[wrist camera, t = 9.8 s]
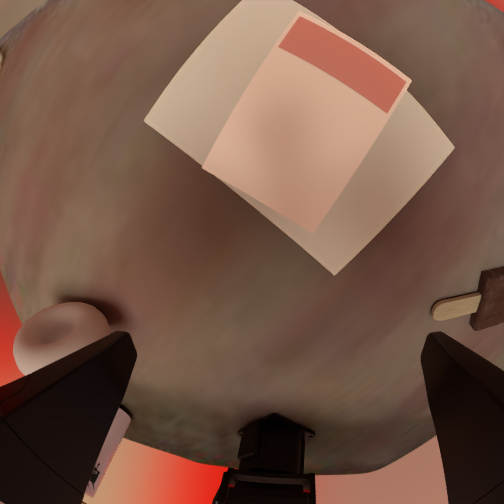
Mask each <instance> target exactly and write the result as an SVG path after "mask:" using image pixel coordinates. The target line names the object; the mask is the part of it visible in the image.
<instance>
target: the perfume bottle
mask: <svg viewBox="0 0 504 504" xmlns="http://www.w3.org/2000/svg"><path fill="white" fill-rule="evenodd" d="M130 423H131V418H130V417H129V415H128V414H127V413H126V412H124V411H123V410H122V409H120V408H119V409H118V411H117V414H116V416H115V418H114V421H113V423H112V425H111V428H110V430H109V432H108V435H107V437H106V440H105V442H104V444H103V447H102V449H101V452H100V454H99V457H98V459H97V462H96V465H95V467H94V470H93V472H92V475H91V478H90V480H89V483H88V486H87V488H86V491H85V494H86V495H88V496H90V497H94V495H95V493H96V491H97V489H98V487H99V485H100V483H101V480H102V479H103V477H104V475H105V472H106V470H107V468H108V466H109V464H110V462H111V460H112V458H113V456H114V454H115V452H116V450H117V448H118V446H119V444H120V442H121V440H122V438H123V436H124V434H125V432H126V430H127V428H128V426H129V425H130ZM81 504H86V503H84V502H83V501H82V503H81Z"/></svg>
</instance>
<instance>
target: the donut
mask: <svg viewBox="0 0 504 504" xmlns="http://www.w3.org/2000/svg"><path fill="white" fill-rule="evenodd" d="M109 334H111V332H110V327H109V325H108V322H107V319H106V318H105V316H104V314H102V313H101V312H100V311H99V310H98V309H96V308H95V307H94V306H92V305H89V304H86V303H82V302H67V303H61V304H56V305H53V306H50V307H47V308H45V309H44V310H42V311H40V312H38V313H36V314H35V315H34V316H32V317H31V318H29V319H28V320H27V321H26V322H25V323H24V324H23V326H22V327H21V328H20V329H19V331H18V333H17V335H16V337H15V340H14V347H13V355H14V358H15V360H16V363H17V366H18V368H19V370H20V371H21V372H22V373H23V374H24V375H25V376H26V375H28V374H30V373H32V372H34V371H36V370H38V369H40V368H42V367H44V366H46V365H48V364H50V363H53V362H55V361H57V360H59V359H61V358H63V357H65V356H67V355H69V354H71V353H73V352H75V351H77V350H79V349H81V348H83V347H85V346H87V345H89V344H91V343H93V342H95V341H97V340H99V339H101V338H103V337H105V336H107V335H109Z"/></svg>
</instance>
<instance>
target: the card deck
mask: <svg viewBox="0 0 504 504" xmlns="http://www.w3.org/2000/svg"><path fill="white" fill-rule="evenodd" d="M411 81H412V80H411V79H409V78H408V77H407V76H406V75H404V74H403V73H402V72H400V71H399V70H398V69H397V68H395V67H394V66H392V65H391V64H390V63H388V62H387V61H386V60H384V59H383V58H381V57H380V56H378V55H377V54H376V53H374V52H373V51H371V50H370V49H368V48H366V47H365V46H363V45H362V44H360V43H359V42H357V41H355V40H354V39H352V38H350V37H349V36H347V35H345V34H344V33H342V32H340V31H338V30H337V29H335V28H333V27H331V26H329V25H327V24H325V23H323V22H322V21H320V20H318V19H316V18H314V17H312V16H309V15H307V14H305V13H303V12H301V11H298V13H297V14H296V15H295V17H294V18H293V19H292V21H291V22H290V23H289V25H288V26H287V28H286V29H285V30H284V32H283V33H282V35H281V36H280V38H279V39H278V40H277V42H276V43H275V45H274V46H273V48H272V49H271V51H270V52H269V54H268V55H267V57H266V58H265V60H264V61H263V63H262V64H261V66H260V67H259V69H258V70H257V72H256V74H255V75H254V77H253V78H252V80H251V82H250V83H249V85H248V86H247V88H246V90H245V91H244V93H243V95H242V96H241V98H240V100H239V101H238V103H237V105H236V106H235V108H234V110H233V111H232V113H231V115H230V117H229V118H228V120H227V122H226V124H225V125H224V127H223V129H222V131H221V132H220V134H219V136H218V138H217V140H216V141H215V143H214V145H213V147H212V149H211V151H210V153H209V154H208V156H207V158H206V160H205V162H204V164H203V166H202V169H204V170H206V171H208V172H209V173H211V174H213V175H215V176H216V177H218V178H220V179H222V180H224V181H225V182H227V183H229V184H231V185H232V186H234V187H236V188H237V189H239V190H241V191H243V192H244V193H246V194H248V195H249V196H251V197H253V198H255V199H256V200H258V201H260V202H261V203H263V204H265V205H266V206H268V207H270V208H271V209H273V210H275V211H276V212H278V213H280V214H281V215H283V216H285V217H286V218H288V219H289V220H291V221H293V222H294V223H296V224H298V225H299V226H301V227H302V228H304V229H306V230H307V231H309V232H310V233H312V234H313V233H314V232H315V230H316V229H317V227H318V226H319V224H320V223H321V222H322V220H323V219H324V217H325V216H326V214H327V213H328V211H329V210H330V208H331V207H332V206H333V204H334V203H335V201H336V200H337V198H338V197H339V195H340V194H341V192H342V191H343V189H344V188H345V186H346V185H347V183H348V182H349V180H350V179H351V177H352V176H353V174H354V173H355V171H356V170H357V168H358V167H359V165H360V164H361V162H362V160H363V159H364V157H365V156H366V154H367V153H368V151H369V150H370V148H371V147H372V145H373V143H374V142H375V140H376V139H377V137H378V135H379V134H380V132H381V131H382V129H383V128H384V126H385V124H386V123H387V121H388V120H389V118H390V116H391V115H392V113H393V111H394V110H395V108H396V107H397V105H398V103H399V102H400V100H401V98H402V97H403V95H404V93H405V92H406V90H407V88H408V87H409V85H410V83H411Z"/></svg>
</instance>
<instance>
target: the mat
mask: <svg viewBox="0 0 504 504" xmlns="http://www.w3.org/2000/svg"><path fill="white" fill-rule="evenodd" d="M298 11H301V12H303V13H305V14H307V15H309V16H312V17H314V18H316V19H318V20H320V21H322V22H323V23H325V24H327V25H329V26H331V27H333V26H332V25H330V24H329V23H327V22H326V21H325V20H323V19H322V18H320V17H319V16H317V15H316V14H314V13H313V12H311V11H309V10H308V9H306V8H305V7H303V6H301V5H300V4H298V3H296V2H295V1H293V0H242V1H241V2H240V3H239V4H238V5H237V6H236V7H235V8H234V9H233V10H232V11H231V12H230V13H229V14H228V15H227V16H226V17H225V18H224V19H223V20H222V21H221V22H220V23H219V24H218V25H217V26H216V27H215V28H214V30H213V31H212V32H211V33H210V34H209V35H208V36H207V37H206V38H205V40H204V41H203V42H202V43H201V44H200V45H199V47H198V48H197V49H196V50H195V51H194V52H193V54H192V55H191V56H190V57H189V59H188V60H187V61H186V62H185V64H184V65H183V66H182V67H181V69H180V70H179V71H178V73H177V74H176V75H175V77H174V78H173V79H172V81H171V82H170V83H169V85H168V86H167V87H166V89H165V90H164V92H163V93H162V94H161V96H160V97H159V99H158V100H157V102H156V103H155V105H154V106H153V108H152V109H151V111H150V112H149V114H148V115H147V117H146V118H145V120H144V122H145V123H147V124H148V125H149V126H151V127H152V128H153V129H155V130H156V131H157V132H159V133H160V134H161V135H163V136H164V137H165V138H167V139H168V140H169V141H171V142H172V143H173V144H175V145H176V146H177V147H179V148H180V149H181V150H183V151H184V152H185V153H186V154H188V155H189V156H190V157H192V158H193V159H194V160H195V161H197V162H198V163H199V164H201V165H202V166H203V164H204V162H205V160H206V158H207V156H208V154H209V153H210V151H211V149H212V147H213V145H214V143H215V141H216V140H217V138H218V136H219V134H220V132H221V131H222V129H223V127H224V125H225V124H226V122H227V120H228V118H229V117H230V115H231V113H232V111H233V110H234V108H235V106H236V105H237V103H238V101H239V100H240V98H241V96H242V95H243V93H244V91H245V90H246V88H247V86H248V85H249V83H250V82H251V80H252V78H253V77H254V75H255V74H256V72H257V70H258V69H259V67H260V66H261V64H262V63H263V61H264V60H265V58H266V57H267V55H268V54H269V52H270V51H271V49H272V48H273V46H274V45H275V43H276V42H277V40H278V39H279V38H280V36H281V35H282V33H283V32H284V30H285V29H286V28H287V26H288V25H289V23H290V22H291V21H292V19H293V18H294V17H295V15H296V14H297V13H298ZM333 28H335V27H333ZM335 29H336V28H335ZM338 31H339V30H338ZM454 148H455V147H454V146H453V145H452V143H451V142H450V141H449V139H448V138H447V137H446V135H445V134H444V133H443V131H442V130H441V129H440V128H439V126H438V125H437V124H436V123H435V121H434V120H433V119H432V118H431V117H430V115H429V114H428V113H427V112H426V111H425V110H424V109H423V107H422V106H421V105H420V104H419V103H418V102H417V101H416V100H415V99H414V97H413V96H412V95H411V94H410V93H409V92H408V91H407V90H406V92H405V93H404V95H403V97H402V98H401V100H400V102H399V103H398V105H397V107H396V108H395V110H394V111H393V113H392V115H391V116H390V118H389V120H388V121H387V123H386V124H385V126H384V128H383V129H382V131H381V132H380V134H379V135H378V137H377V139H376V140H375V142H374V143H373V145H372V147H371V148H370V150H369V151H368V153H367V154H366V156H365V157H364V159H363V160H362V162H361V164H360V165H359V167H358V168H357V170H356V171H355V173H354V174H353V176H352V177H351V179H350V180H349V182H348V183H347V185H346V186H345V188H344V189H343V191H342V192H341V194H340V195H339V197H338V198H337V200H336V201H335V203H334V204H333V206H332V207H331V208H330V210H329V211H328V213H327V214H326V216H325V217H324V219H323V220H322V222H321V223H320V224H319V226H318V227H317V229H316V230H315V232H314V233H313V234H312V233H310V232H309V231H307V230H306V229H304V228H302V227H301V226H299V225H298V224H296V223H294V222H293V221H291V220H289V219H288V218H286V217H285V216H283V215H281V214H280V213H278V212H276V211H275V210H273V209H271V208H270V207H268V206H266V205H265V204H263V203H261V202H260V201H258V200H256V199H255V198H253V197H251V196H249V195H248V194H246V193H244V192H243V191H241V190H239V189H237V188H236V187H234V186H232V185H231V184H229V183H227V182H225V181H224V180H222V179H220V178H218V177H217V178H218V179H220V180H221V181H222V182H223V183H225V184H226V185H227V186H228V187H230V188H231V189H232V190H233V191H235V192H236V193H237V194H238V195H240V196H241V197H242V198H243V199H244V200H246V201H247V202H248V203H249V204H251V205H252V206H253V207H254V208H255V209H257V210H258V211H259V212H260V213H262V214H263V215H264V216H265V217H266V218H268V219H269V220H270V221H271V222H272V223H274V224H275V225H276V226H277V227H278V228H280V229H281V230H282V231H283V232H284V233H286V234H287V235H288V236H289V237H290V238H291V239H293V240H294V241H295V242H296V243H297V244H299V245H300V246H301V247H302V248H303V249H304V250H306V251H307V252H308V253H309V254H310V255H311V256H312V257H314V258H315V259H316V260H317V261H318V262H319V263H321V264H322V265H323V266H324V267H325V268H326V269H327V270H329V271H330V272H331V273H332V274H333V275H334V276H335V275H336V274H337V273H338V272H339V271H340V270H341V269H342V268H343V267H344V266H345V265H346V264H348V263H349V262H350V261H351V260H352V259H353V258H354V257H355V256H356V255H357V254H358V253H359V252H360V251H361V250H362V249H363V248H364V247H365V246H366V245H367V244H368V243H369V242H370V241H371V240H372V239H373V238H374V237H375V236H376V235H377V234H378V233H379V232H380V231H381V230H382V229H383V228H384V227H385V226H386V225H387V224H388V223H389V222H390V220H391V219H392V218H393V217H394V216H395V215H396V214H397V213H398V212H399V211H400V210H401V209H402V208H403V207H404V206H405V205H406V203H407V202H408V201H409V200H410V199H411V198H412V197H413V196H414V195H415V194H416V192H417V191H418V190H419V189H420V188H421V187H422V186H423V185H424V184H425V182H426V181H427V180H428V179H429V178H430V177H431V176H432V174H433V173H434V172H435V171H436V170H437V169H438V167H439V166H440V165H441V164H442V163H443V161H444V160H445V159H446V158H447V157H448V155H449V154H450V153H451V152H452V151H453V149H454Z"/></svg>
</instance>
